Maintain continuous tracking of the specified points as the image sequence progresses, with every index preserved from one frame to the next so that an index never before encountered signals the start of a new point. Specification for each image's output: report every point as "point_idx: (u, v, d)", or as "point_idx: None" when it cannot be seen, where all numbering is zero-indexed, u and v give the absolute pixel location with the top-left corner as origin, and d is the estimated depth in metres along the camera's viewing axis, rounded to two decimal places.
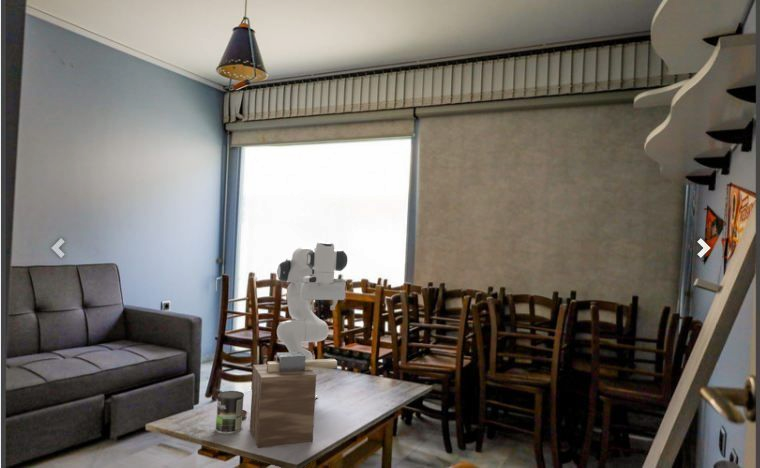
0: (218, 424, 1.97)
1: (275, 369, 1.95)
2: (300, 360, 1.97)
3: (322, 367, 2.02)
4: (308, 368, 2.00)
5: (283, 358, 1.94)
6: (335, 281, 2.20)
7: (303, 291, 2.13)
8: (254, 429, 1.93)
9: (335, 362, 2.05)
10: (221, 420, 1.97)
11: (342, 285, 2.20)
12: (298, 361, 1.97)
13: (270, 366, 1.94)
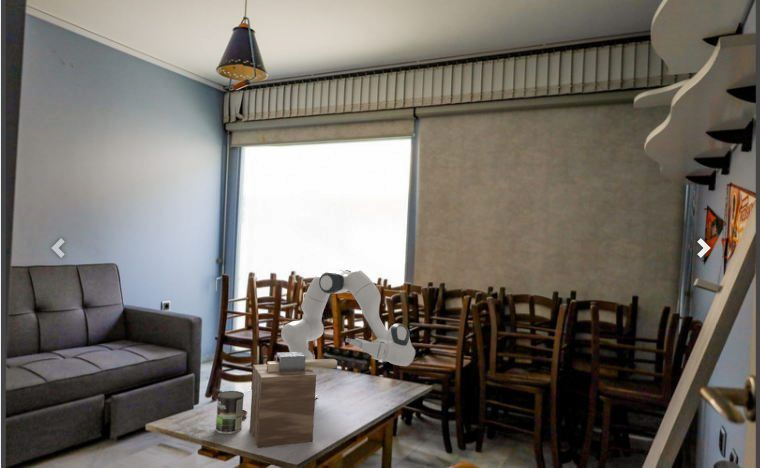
0: (218, 424, 1.97)
1: (275, 369, 1.95)
2: (300, 360, 1.97)
3: (322, 367, 2.02)
4: (308, 368, 2.00)
5: (283, 358, 1.94)
6: None
7: (369, 353, 2.02)
8: (254, 429, 1.93)
9: (335, 362, 2.05)
10: (221, 420, 1.97)
11: None
12: (298, 361, 1.97)
13: (270, 366, 1.94)
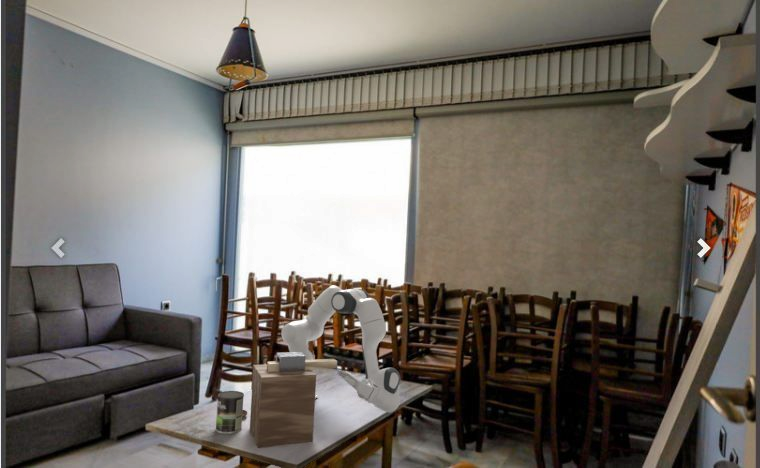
0: (218, 424, 1.97)
1: (275, 369, 1.95)
2: (300, 360, 1.97)
3: (322, 367, 2.02)
4: (308, 368, 2.00)
5: (283, 358, 1.94)
6: None
7: (362, 394, 2.01)
8: (254, 429, 1.93)
9: (335, 362, 2.05)
10: (221, 420, 1.97)
11: None
12: (298, 361, 1.97)
13: (270, 366, 1.94)
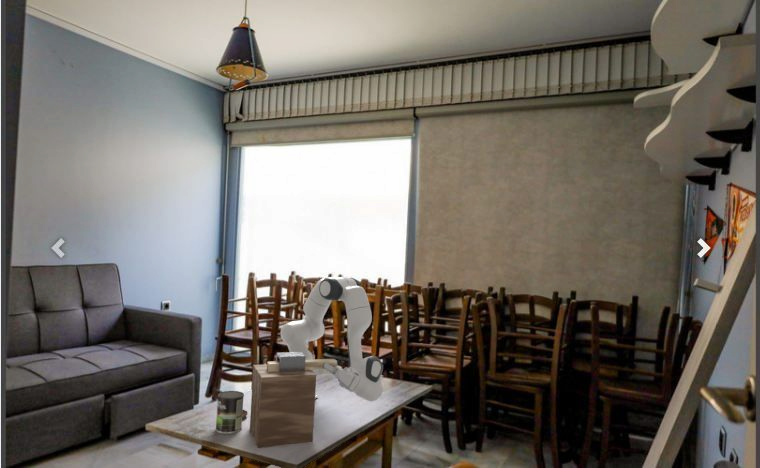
0: (218, 424, 1.97)
1: (275, 369, 1.95)
2: (300, 360, 1.97)
3: (322, 367, 2.02)
4: (308, 368, 2.00)
5: (283, 358, 1.94)
6: None
7: (342, 382, 1.98)
8: (254, 429, 1.93)
9: (335, 362, 2.05)
10: (221, 420, 1.97)
11: None
12: (298, 361, 1.97)
13: (270, 366, 1.94)
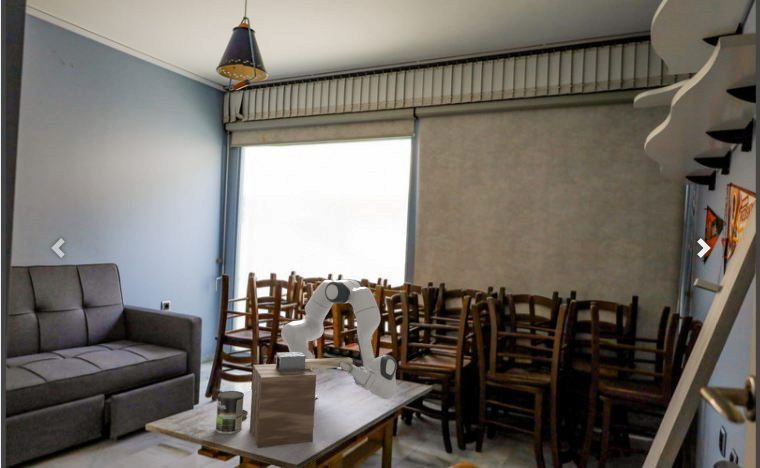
0: (218, 424, 1.97)
1: None
2: (300, 360, 1.97)
3: (338, 366, 2.05)
4: (324, 366, 2.03)
5: (283, 358, 1.94)
6: None
7: (358, 380, 2.01)
8: (254, 429, 1.93)
9: (351, 361, 2.07)
10: (221, 420, 1.97)
11: None
12: (298, 361, 1.97)
13: None
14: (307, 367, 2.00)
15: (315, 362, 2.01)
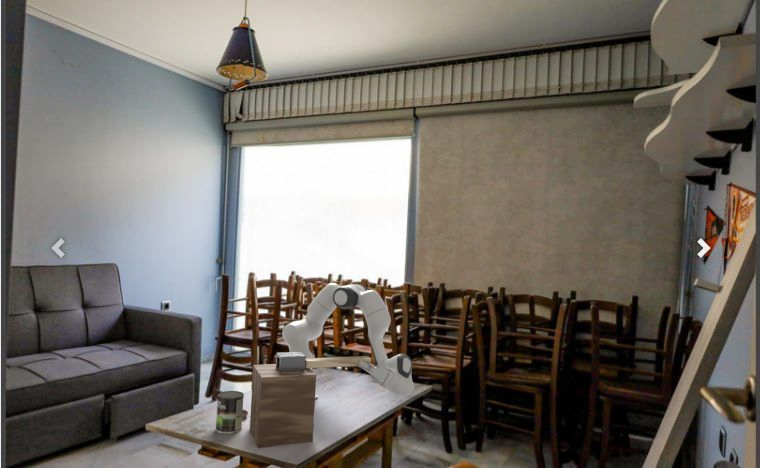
0: (218, 424, 1.97)
1: (313, 366, 2.01)
2: (300, 360, 1.97)
3: (357, 364, 2.08)
4: (343, 365, 2.06)
5: (283, 358, 1.94)
6: None
7: (377, 379, 2.04)
8: (254, 429, 1.93)
9: (369, 359, 2.10)
10: (221, 420, 1.97)
11: None
12: (298, 361, 1.97)
13: (308, 363, 2.00)
14: (327, 365, 2.03)
15: (335, 361, 2.04)
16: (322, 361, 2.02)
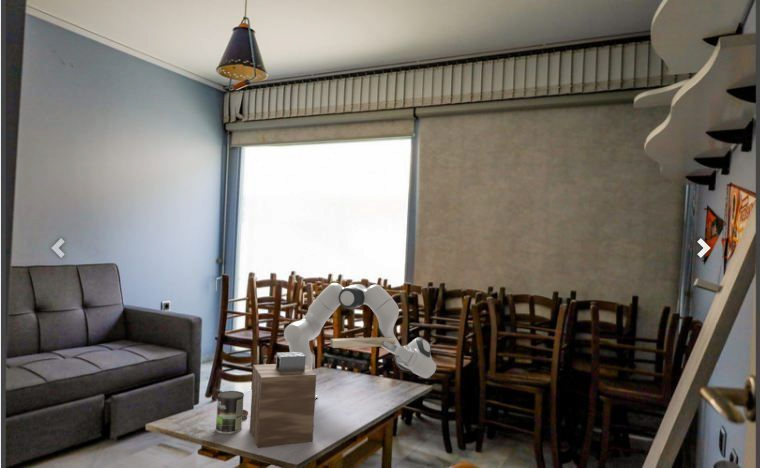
0: (218, 424, 1.97)
1: (339, 346, 2.05)
2: (300, 360, 1.97)
3: (381, 344, 2.13)
4: (368, 345, 2.10)
5: (283, 358, 1.94)
6: None
7: (402, 358, 2.08)
8: (254, 429, 1.93)
9: (393, 340, 2.15)
10: (221, 420, 1.97)
11: None
12: (298, 361, 1.97)
13: (334, 342, 2.05)
14: (353, 345, 2.08)
15: (360, 341, 2.09)
16: (348, 341, 2.07)
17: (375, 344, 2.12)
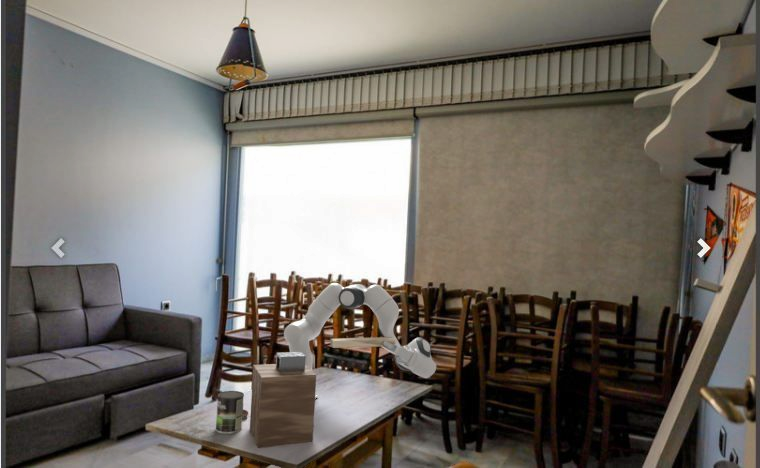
0: (218, 424, 1.97)
1: (339, 346, 2.05)
2: (300, 360, 1.97)
3: (381, 344, 2.13)
4: (368, 345, 2.10)
5: (283, 358, 1.94)
6: None
7: (402, 358, 2.08)
8: (254, 429, 1.93)
9: (393, 340, 2.15)
10: (221, 420, 1.97)
11: None
12: (298, 361, 1.97)
13: (334, 342, 2.05)
14: (353, 345, 2.08)
15: (360, 341, 2.09)
16: (348, 341, 2.07)
17: (375, 344, 2.12)
